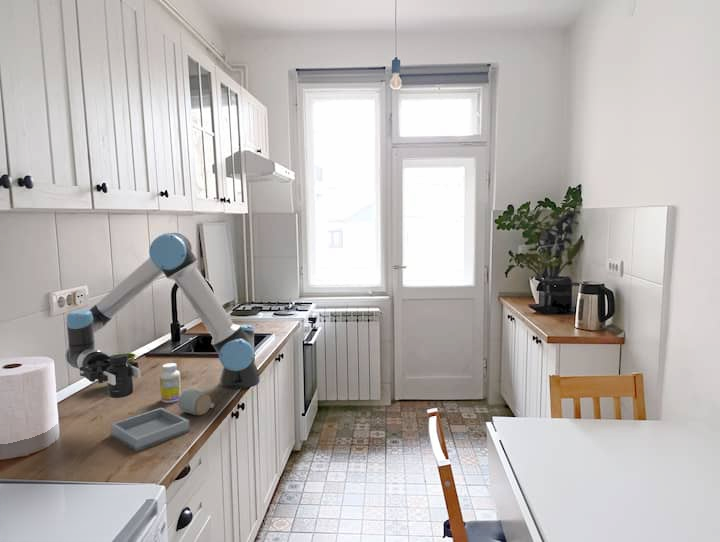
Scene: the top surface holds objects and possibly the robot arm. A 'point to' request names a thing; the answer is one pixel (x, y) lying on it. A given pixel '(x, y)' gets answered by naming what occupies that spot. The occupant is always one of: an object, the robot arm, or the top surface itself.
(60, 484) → the top surface
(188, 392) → the ceramic mug
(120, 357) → the supplement bottle
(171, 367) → the supplement bottle
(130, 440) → the tray
